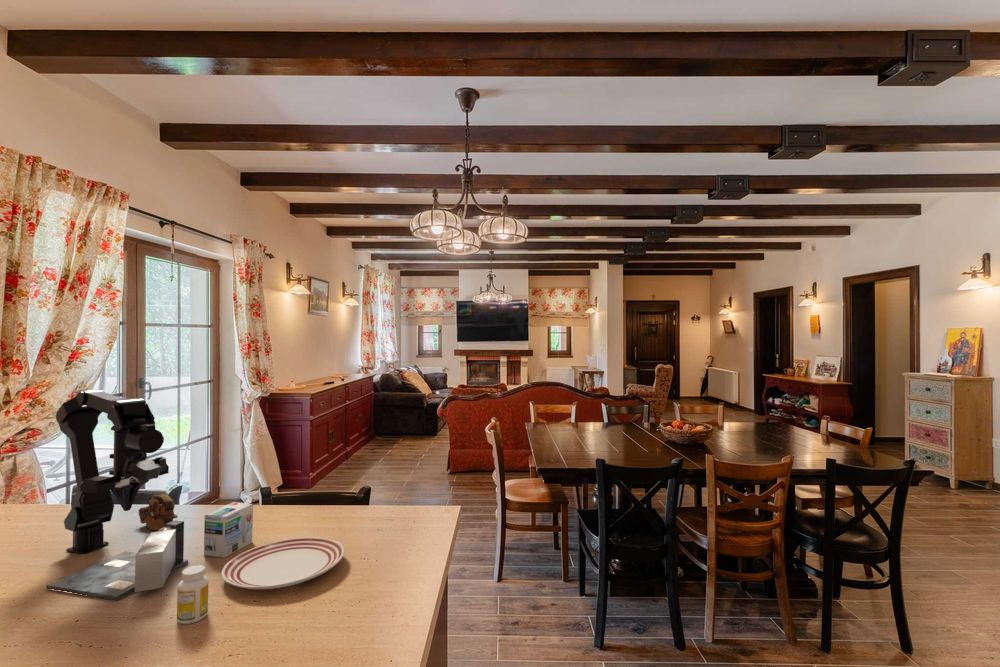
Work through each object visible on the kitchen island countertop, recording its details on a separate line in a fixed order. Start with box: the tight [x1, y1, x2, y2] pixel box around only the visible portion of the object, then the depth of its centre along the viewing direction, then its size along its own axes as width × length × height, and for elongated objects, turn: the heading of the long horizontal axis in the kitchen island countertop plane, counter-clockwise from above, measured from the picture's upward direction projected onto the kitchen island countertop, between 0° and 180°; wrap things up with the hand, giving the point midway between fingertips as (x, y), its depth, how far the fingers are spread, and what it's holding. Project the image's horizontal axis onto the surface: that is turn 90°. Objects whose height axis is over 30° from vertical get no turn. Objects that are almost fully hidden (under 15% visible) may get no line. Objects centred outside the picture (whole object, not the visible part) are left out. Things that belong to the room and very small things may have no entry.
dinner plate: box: [220, 536, 345, 590], centre depth 118 cm, size 27×27×3 cm
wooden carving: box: [138, 493, 178, 531], centre depth 143 cm, size 16×5×10 cm, turn 67°
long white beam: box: [134, 527, 176, 593], centre depth 113 cm, size 5×16×8 cm, turn 24°
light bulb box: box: [203, 501, 254, 559], centre depth 130 cm, size 11×7×11 cm, turn 168°
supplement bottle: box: [176, 564, 209, 625], centre depth 98 cm, size 5×5×10 cm
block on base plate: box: [45, 519, 189, 602], centre depth 115 cm, size 20×19×10 cm
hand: (127, 510), depth 122 cm, fingers closed
